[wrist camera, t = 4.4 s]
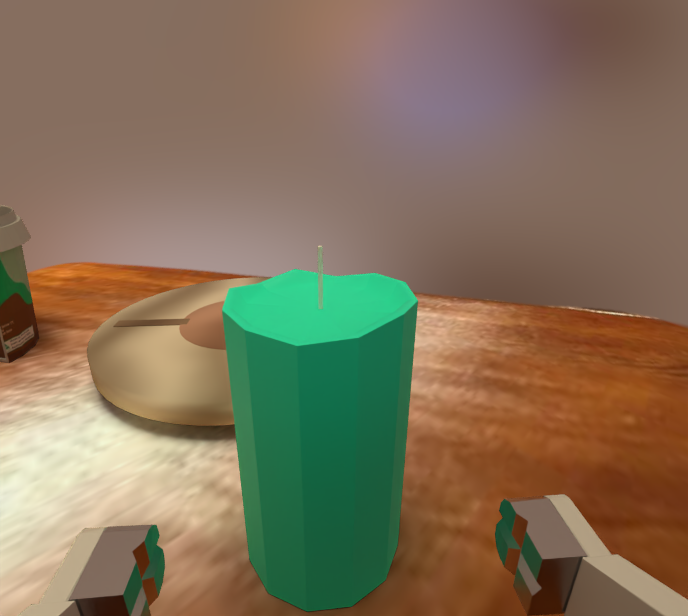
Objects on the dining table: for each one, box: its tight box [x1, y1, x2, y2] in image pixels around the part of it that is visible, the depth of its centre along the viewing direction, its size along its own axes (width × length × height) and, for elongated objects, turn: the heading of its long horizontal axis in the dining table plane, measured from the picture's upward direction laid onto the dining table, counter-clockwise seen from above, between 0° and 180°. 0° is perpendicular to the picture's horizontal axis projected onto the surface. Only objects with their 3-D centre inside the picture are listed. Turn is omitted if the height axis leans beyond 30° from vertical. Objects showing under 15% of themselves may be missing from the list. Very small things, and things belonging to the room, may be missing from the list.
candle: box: [222, 246, 418, 612], centre depth 15 cm, size 6×6×12 cm
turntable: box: [87, 277, 273, 426], centre depth 31 cm, size 20×20×2 cm
